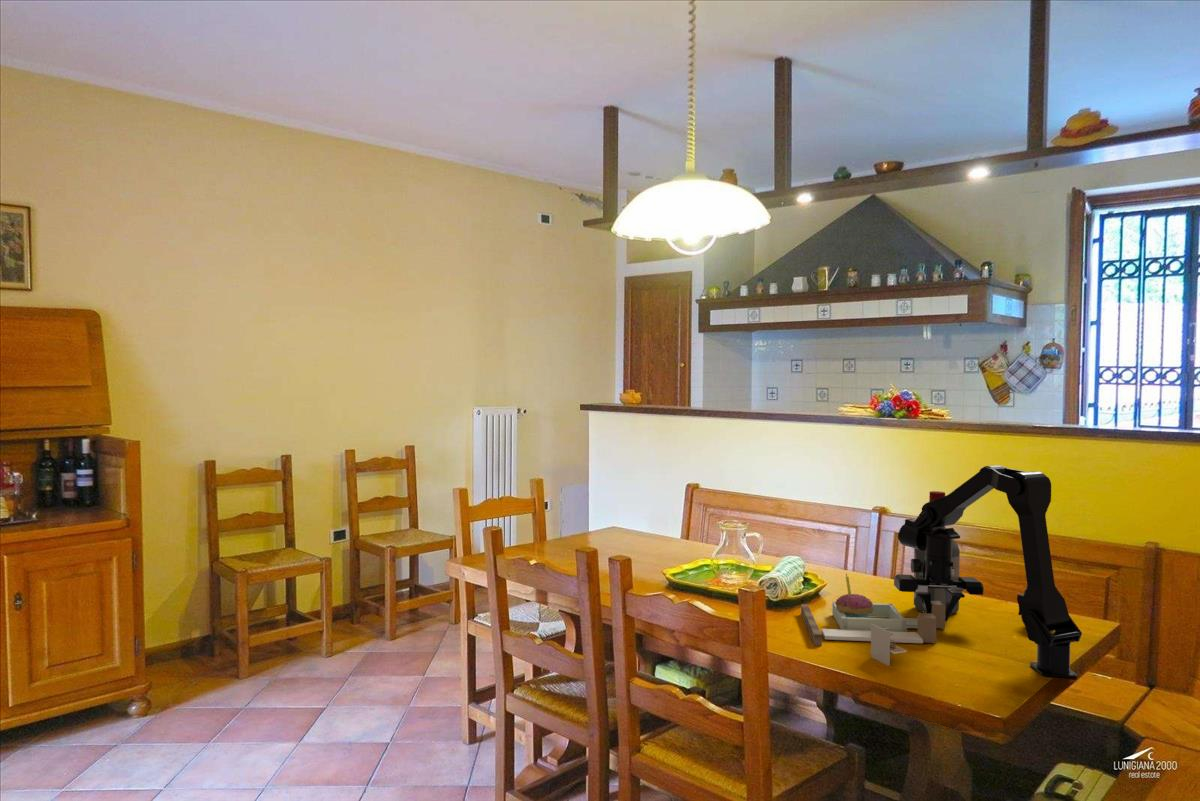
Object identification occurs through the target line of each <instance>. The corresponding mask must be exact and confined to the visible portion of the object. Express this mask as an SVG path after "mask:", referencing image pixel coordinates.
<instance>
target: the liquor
mask: <svg viewBox="0 0 1200 801" xmlns="http://www.w3.org/2000/svg"><path fill="white" fill-rule="evenodd" d="M944 496H946V492H945V491H939V490H938V491H935V490H933V491H929V498H928V499H929V501H928V502H930V501H932V500H934V499H938V498H941V497H944ZM937 528H940V529H944V530H945V529H946V528H947V527H946V526H944V527H936V528H933V530H934V529H937ZM913 551H914V552H913V554H914V555H913V559H920V560H921V562H924V556H925V555H926V550H924V551H923V550H918V549H915V548H913ZM960 552H961V550H960V547H959V545H958V543H957V542H956V541H955V539H952V562H953V567H952V573H951V579H952V580H953V581H958V578H959V577H960V562H961V560H960V557H961V556H960V555H961V554H960ZM913 577H914V578H915V579H923V580H925V578H922V577H919V573H913ZM930 584H931V583H930ZM941 585H947V584H941ZM928 592H929V593H930V594H931V601H941V602H943V603H944V604H945V590H944V588H928ZM913 605H914V606H915V609H916V611H917V610H920V611H919V612H921V611H924V612H925V610H924V607H923V604H922V601H921V599H920V597H919V596H918V595H917V594H915V593H914V592H913ZM959 609H960V600H959V601H958V603H957V604H956V605H955V607H954V609H953V610H952V612H951V615H953V614H952V613H955V614H957V613H958V612H959ZM924 612H923V613H924ZM956 612H957V613H956Z"/></svg>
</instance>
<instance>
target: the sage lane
mask: <svg viewBox="0 0 1200 801" xmlns="http://www.w3.org/2000/svg"><path fill="white" fill-rule="evenodd" d="M835 603H836V601H832V603H831V605H832V609H831V610H832V612H831V613H832V616H833V617H834V619H835V621H836V623H837V625H838V626H839V629H843V630H868V631H871V624H873V625H875V626H878V627H880V628H882V629H883V628H889V629H888V630H887V631H893V632H908V631H907V630H908V629H918V618H913V617H912V618H909V617H907V618H905V617H904V616H903V615H902V614H901V613H900V611H898V609H897V608H896V607H895V605H894V604H893V603H885V602H884V603H879V602H878V603H877V602H872V603H873V604H872V605H873V612H872V613H869V614H868V616H867V618H863V617H846V615H845V613H843V612H841V611H839V610H838V609H837V608H836V604H835ZM931 613H932V614H933V615H934V616H935V617H936V629H946V621H945V604H944V603H943V602H941V601H931Z"/></svg>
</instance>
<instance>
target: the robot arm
mask: <svg viewBox="0 0 1200 801" xmlns="http://www.w3.org/2000/svg"><path fill="white" fill-rule="evenodd" d="M993 489H995V490H996V491H999V492H1002V493H1004V494H1006V498H1007V501H1008V504H1009V505H1010V507H1011V508H1012V509H1013V510H1014V512H1015V513H1016V515H1017V518H1018V525H1019V533H1020V540H1021V548H1022V557H1023V563H1024V570H1025V572H1024V573H1025V578H1026V588H1025V589H1026V591H1025V590H1024V591H1025V593H1024V592H1023V593H1021V594H1017V597H1016V600H1017V601H1016V602H1017V604H1018V612H1017V613H1018V614H1017V615H1018V616H1020V619H1021V621H1022V623H1023V625H1024V628H1025V630H1026V634H1027V638H1028V641H1031V642H1033V643H1034V644H1035V645H1037V646H1036V648H1037V649H1036V661H1035V662H1034V661H1030V662H1029V665H1030V666H1031V667H1032V668H1033V669H1035V670H1036V672H1038V673H1039V674H1040V675H1041V676H1043V677H1053V678H1054V677H1056V678H1057V677H1058V678H1078V674H1077V673H1076V672H1075V671H1073V670H1072V669H1071V643H1075V642H1076V643H1078V642H1080V641H1081V640H1080V639H1081V638H1082V636H1083V632H1082V631H1081V630H1080V628H1079V627H1078V625H1077V624H1076V623H1075V621H1074V620H1073V619H1072V616H1070V613H1069V610H1068V607H1067V603H1066V600H1065V598H1064V597H1063V595H1062V594H1061V592H1060V591H1059V590H1058V588H1057V587H1056V584H1055V577H1054V570H1053V569H1054V568H1053V563H1052V555H1051V548H1050V541H1049V539H1050V538H1049V533H1048V532H1049V531H1048V526H1047V519H1046V517H1047V515H1046V514H1047V511H1048V509H1049V507H1050V504H1051V502H1052V482H1051V479H1050V477H1049V476H1047V475H1046V474H1045V473H1044V472H1041V471H1025V470H1018V469H1015V468H1014V469H1013V468H1009V467H1005V466H1003V465H999V464H998V465H985V466H983V467H981V468H980V469H979V470H978V472H977V473H976V474H974V475H973V476H972V477H970V478H968V479H967V480H966V481H965V482H964V483H963V482H962V484H960V485H959V486H958V487H956V489H953V490H952V491H951V492H950V493H949V494H947V495H946V494H945V496H944V497H941V498H938V499H934V500H932V501H930V502H929V501H928V502H926V503H924V504H923V505H922V507H921V512H920V513H919V514H918V516H917V517H916V519H914V518H906V519H904V524H903V525H901V527H900V528H899V531H898V532H897V537H898V538H897V539H898V541H899V543H900V544H901V545H902V546H905V547H908V548H912V549H914V548H915V549H918V550H923V551H924V550H926V555H925V556H924V562H921V560H920V559H914V558H912V559H910V573H913V574H914V573H919V577H922V578H925V580H923V579H915V578H914V575H912V574H896V575H894V578H893V585H894V587H895V588H896V589H897V590H898V591H899V592H903V593H913V594H914V593H915V594H917V595H918V596H919V597H920V599H921V601H922V604H923V607H924V610H925V613H931V594H930V593H929V592H928V588H944V590H945V622H947V621H948V620H949V618H950V616H951V615H952V614H951V612H952V610H953V609H954V607H955V605H956V604H957V603H958V601H959V602H960V599H962V598H965V597H966V596H965V594H964V593H963V592H964V590H965V591H966V592H967V593H968V594H969V595H975V596H983V595H984V584H983V583H982V582H981V581H980V580H978V579H977V578H976V577H973V576H972V577H971V576H959V578H958V581H953V580H952V579H951V573H952V567H953V562H952V539H953V540H959V539H961V535H960V534H959V532H956V530H955V529H954V527H949V526H953V525H955V524H956V523H957V522H958V521H959V520H960V519H961V518H962V517H963V515H964V511H965V510H966V509H967V508H968V507H970V506H971V505H972V504H973V503H976V502H977V501H978V500H980V499H981V498H982V497H983V496H985V495H987V494H988V493H990V492H992V490H993ZM944 526H945V528H946V529H945V530H944V529H940V528H937V529H934V530H933V528H936V527H944ZM947 526H948V527H949V528H947ZM930 583H931V584H930ZM941 584H947V585H941ZM950 614H951V615H950ZM1052 631H1054V632H1052Z"/></svg>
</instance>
